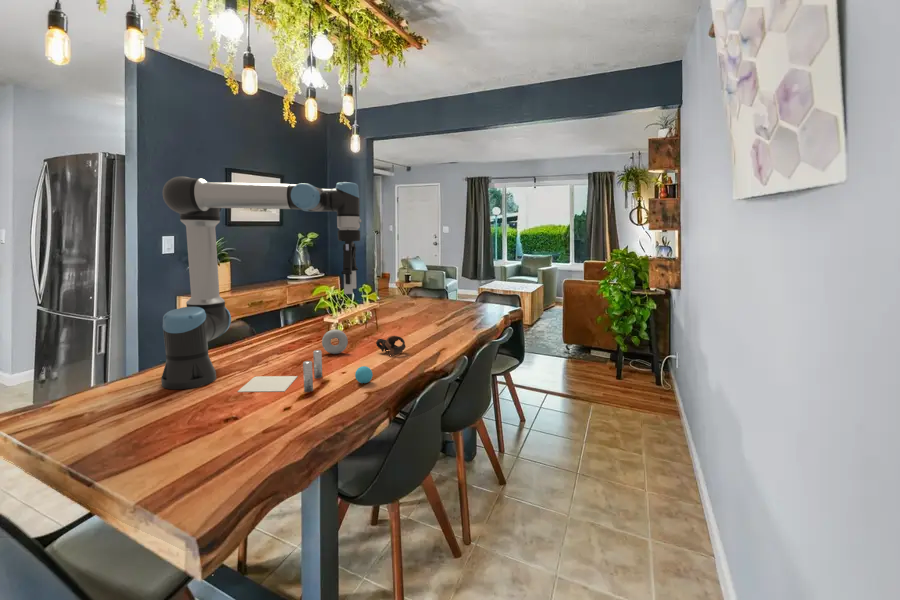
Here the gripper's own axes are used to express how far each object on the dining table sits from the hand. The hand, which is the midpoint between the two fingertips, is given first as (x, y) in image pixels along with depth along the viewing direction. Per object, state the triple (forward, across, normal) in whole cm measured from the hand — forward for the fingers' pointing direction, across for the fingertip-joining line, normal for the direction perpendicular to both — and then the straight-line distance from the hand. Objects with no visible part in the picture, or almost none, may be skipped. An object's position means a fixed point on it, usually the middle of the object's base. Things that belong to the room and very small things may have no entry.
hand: (350, 291), depth 153 cm
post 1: (+28, -22, +11) cm, 37 cm away
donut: (+28, +20, +9) cm, 35 cm away
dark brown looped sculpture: (+28, +19, -13) cm, 36 cm away
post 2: (+28, -9, +10) cm, 31 cm away
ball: (+25, -16, -5) cm, 30 cm away
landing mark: (+28, -14, +25) cm, 40 cm away
